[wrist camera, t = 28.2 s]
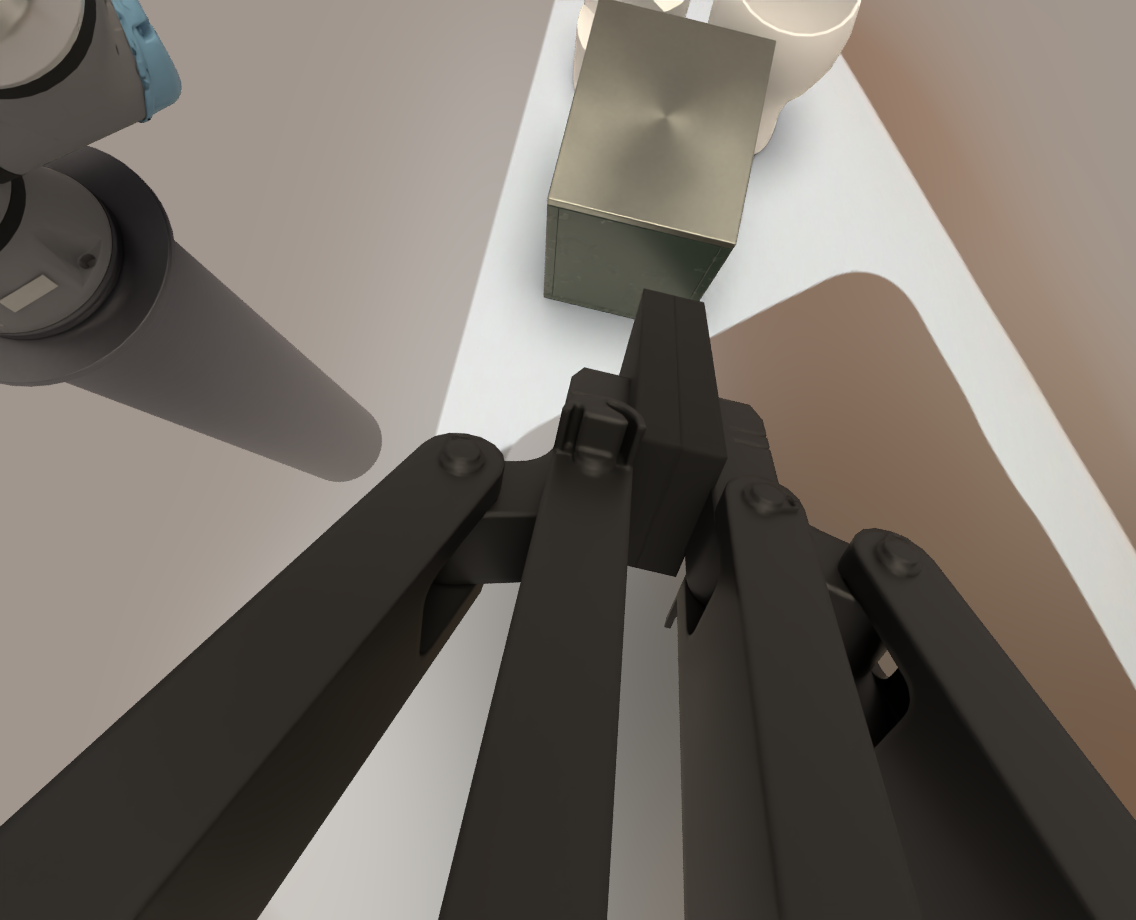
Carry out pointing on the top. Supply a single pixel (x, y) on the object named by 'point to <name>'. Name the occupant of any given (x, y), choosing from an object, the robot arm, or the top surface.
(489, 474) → the robot arm
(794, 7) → the cup
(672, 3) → the base with upright slab
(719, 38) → the bin lid
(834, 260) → the top surface
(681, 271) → the bin
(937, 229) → the top surface
